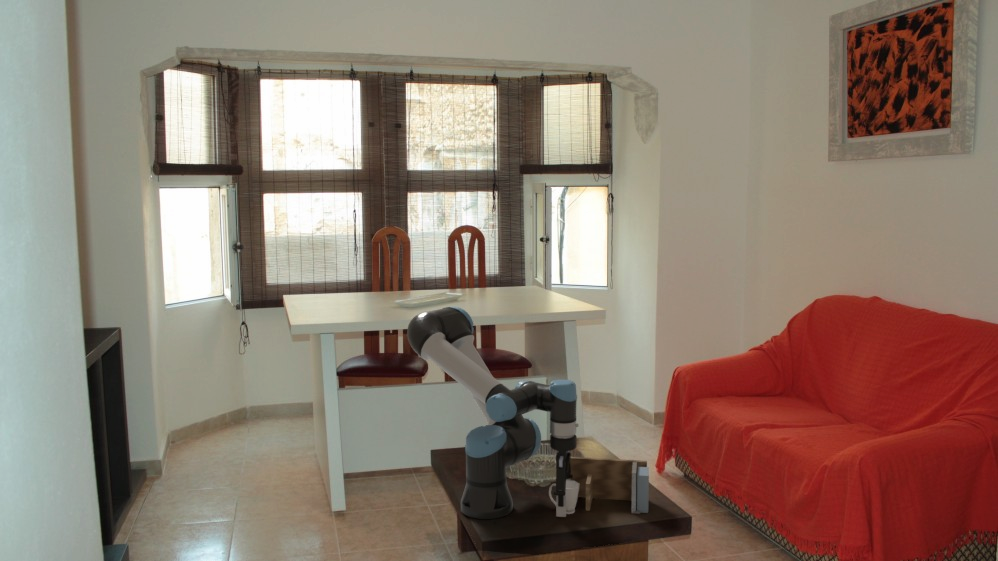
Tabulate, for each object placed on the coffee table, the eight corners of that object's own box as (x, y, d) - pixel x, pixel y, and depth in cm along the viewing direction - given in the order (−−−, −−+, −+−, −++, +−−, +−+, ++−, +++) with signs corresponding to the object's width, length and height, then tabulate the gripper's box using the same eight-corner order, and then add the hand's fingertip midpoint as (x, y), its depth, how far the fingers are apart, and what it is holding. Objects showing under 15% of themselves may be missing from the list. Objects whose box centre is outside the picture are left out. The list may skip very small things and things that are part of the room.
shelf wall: (562, 496, 249) (562, 457, 247) (562, 494, 250) (562, 456, 248) (646, 501, 244) (646, 462, 242) (646, 499, 245) (647, 460, 244)
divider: (585, 510, 238) (585, 483, 237) (588, 499, 246) (588, 473, 245) (589, 510, 238) (590, 483, 237) (592, 499, 246) (592, 473, 245)
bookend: (631, 513, 236) (631, 472, 234) (632, 500, 244) (632, 461, 243) (639, 513, 235) (640, 473, 234) (640, 501, 244) (641, 462, 242)
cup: (570, 518, 233) (570, 490, 232) (542, 509, 239) (542, 482, 238) (584, 510, 238) (584, 483, 237) (556, 501, 245) (556, 475, 244)
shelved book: (636, 512, 236) (637, 475, 235) (637, 502, 243) (637, 466, 242) (648, 512, 236) (648, 475, 234) (648, 503, 243) (648, 467, 241)
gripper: (572, 448, 224) (572, 525, 227) (580, 422, 246) (580, 493, 249) (544, 447, 225) (545, 524, 228) (555, 421, 248) (555, 491, 251)
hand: (563, 508), depth 239 cm, fingers open, 11 cm apart
